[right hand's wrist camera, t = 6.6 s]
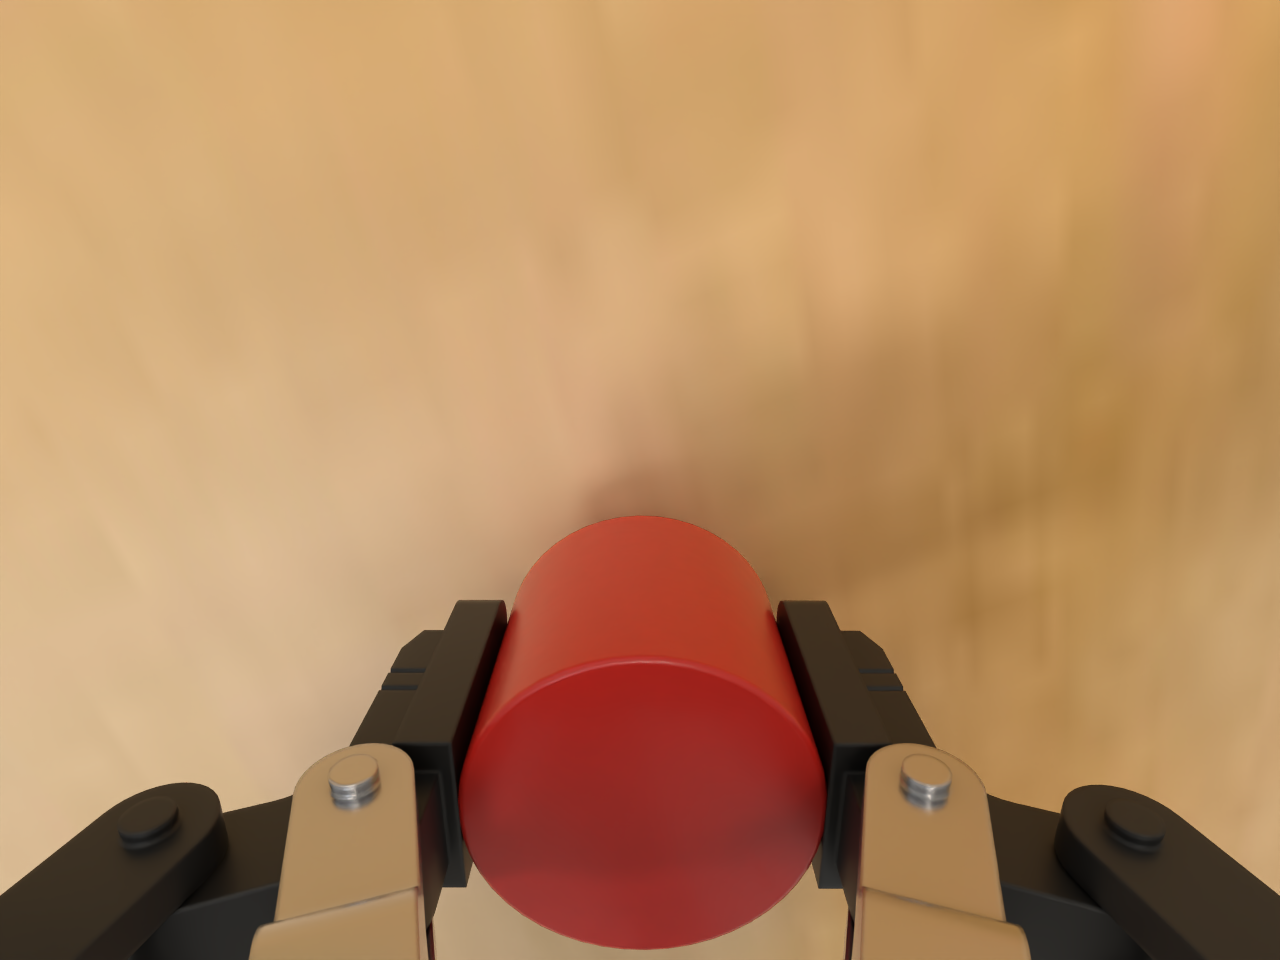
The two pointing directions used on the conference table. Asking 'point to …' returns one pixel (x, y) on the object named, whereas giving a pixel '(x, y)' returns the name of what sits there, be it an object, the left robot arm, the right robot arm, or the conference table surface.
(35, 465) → the conference table surface
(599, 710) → the cylinder
